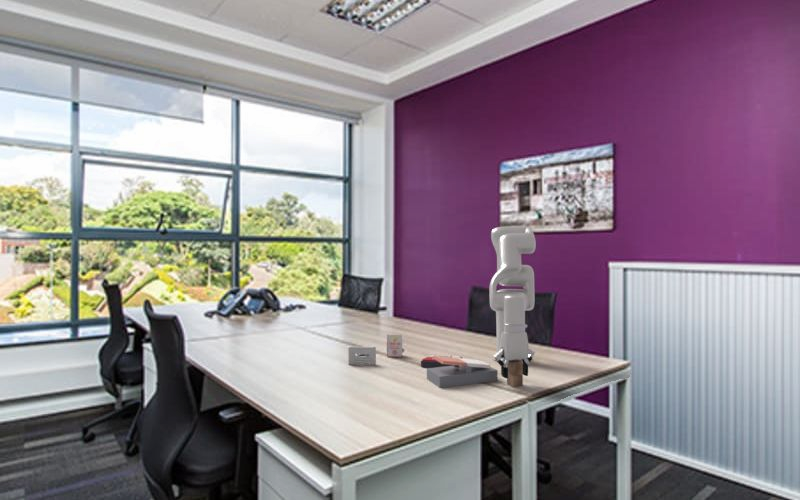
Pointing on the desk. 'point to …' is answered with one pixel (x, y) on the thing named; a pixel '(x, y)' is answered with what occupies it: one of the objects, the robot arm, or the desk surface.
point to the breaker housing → (460, 375)
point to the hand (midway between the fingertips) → (514, 375)
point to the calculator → (434, 361)
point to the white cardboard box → (394, 345)
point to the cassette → (362, 359)
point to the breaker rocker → (461, 362)
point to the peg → (515, 373)
